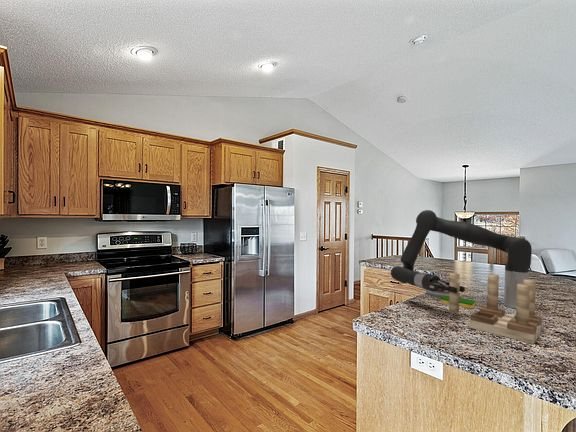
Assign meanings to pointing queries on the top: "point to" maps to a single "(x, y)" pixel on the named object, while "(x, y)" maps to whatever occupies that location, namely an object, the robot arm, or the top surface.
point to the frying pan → (438, 293)
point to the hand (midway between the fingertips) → (460, 290)
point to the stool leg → (454, 296)
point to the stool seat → (511, 326)
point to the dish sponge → (460, 302)
